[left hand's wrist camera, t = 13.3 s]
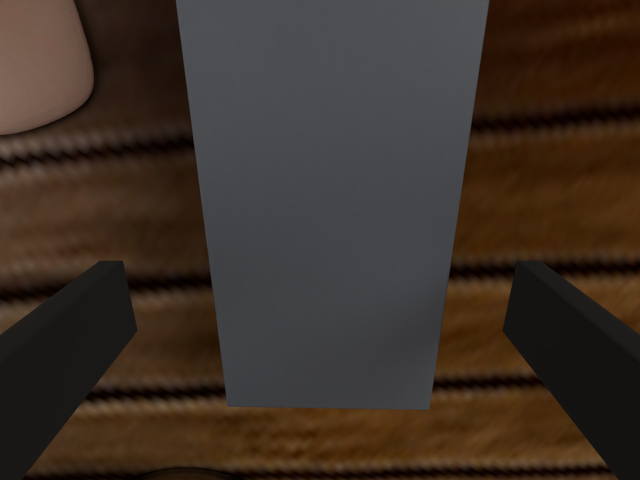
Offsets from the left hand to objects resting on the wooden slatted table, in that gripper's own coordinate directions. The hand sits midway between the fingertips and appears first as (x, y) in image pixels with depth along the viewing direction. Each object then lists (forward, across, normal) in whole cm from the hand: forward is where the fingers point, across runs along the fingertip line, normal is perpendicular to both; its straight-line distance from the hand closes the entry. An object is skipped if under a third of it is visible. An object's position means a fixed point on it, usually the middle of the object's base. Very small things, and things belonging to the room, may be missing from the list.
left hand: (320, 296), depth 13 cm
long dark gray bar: (+8, 0, -31) cm, 32 cm away
